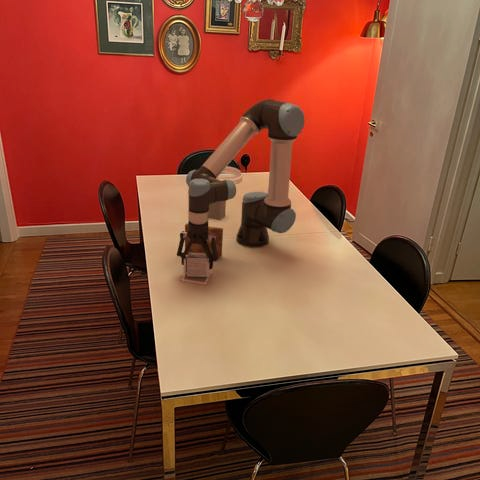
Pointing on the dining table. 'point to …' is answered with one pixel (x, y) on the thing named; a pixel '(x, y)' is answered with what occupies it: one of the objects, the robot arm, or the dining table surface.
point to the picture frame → (196, 279)
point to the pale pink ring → (233, 171)
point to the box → (197, 265)
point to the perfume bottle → (217, 210)
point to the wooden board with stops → (212, 231)
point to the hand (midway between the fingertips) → (197, 273)
